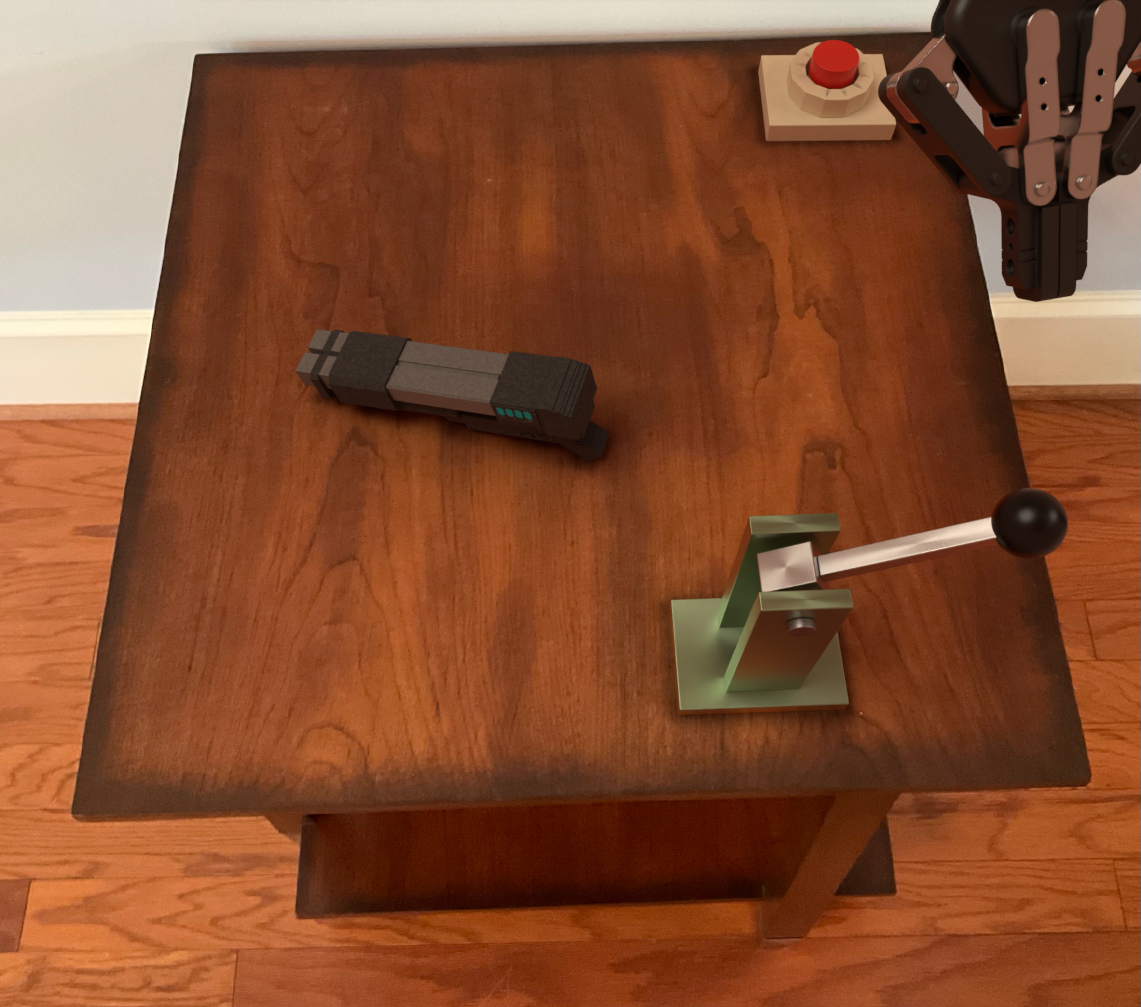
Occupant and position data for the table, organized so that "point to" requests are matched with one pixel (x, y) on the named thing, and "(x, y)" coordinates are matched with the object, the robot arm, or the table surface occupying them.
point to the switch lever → (924, 544)
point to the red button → (833, 64)
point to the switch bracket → (763, 633)
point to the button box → (822, 101)
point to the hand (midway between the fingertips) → (1044, 296)
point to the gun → (460, 386)
